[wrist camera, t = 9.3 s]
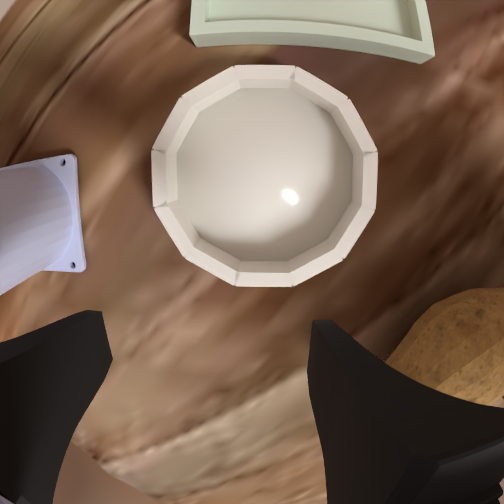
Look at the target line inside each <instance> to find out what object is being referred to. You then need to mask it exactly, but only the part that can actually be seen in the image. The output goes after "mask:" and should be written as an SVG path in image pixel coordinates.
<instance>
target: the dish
mask: <svg viewBox="0 0 504 504" xmlns="http://www.w3.org/2000/svg"><path fill="white" fill-rule="evenodd" d="M182 98H183V99H182ZM182 98H179V100H178V101H177V103H176V105H175V107H174V108H173V110H172V112H171V114H170V115H169V117H168V119H167V121H166V123H165V124H164V126H163V128H162V130H161V132H160V134H159V135H158V137H157V139H156V141H155V143H154V145H153V147H152V149H154V150H151V160H152V193H153V207H156V208H155V209H154V210H155V212H156V214H157V215H158V217H159V219H160V220H161V222H162V224H163V225H164V227H165V228H166V230H167V232H168V233H169V235H170V237H171V238H172V240H173V241H174V243H175V245H176V246H177V248H178V249H179V251H180V252H181V254H182V256H183V257H184V256H186V257H185V259H187V260H189V261H190V262H192V263H194V264H196V265H197V266H199V267H201V268H203V269H204V270H206V271H208V272H210V273H212V274H213V275H215V276H217V277H219V278H221V279H222V280H224V281H226V282H228V283H230V284H231V285H233V286H234V285H235V283H236V286H248V287H292V284H293V286H296V285H297V284H299V283H301V282H303V281H305V280H307V279H309V278H311V277H313V276H315V275H317V274H318V273H320V272H322V271H324V270H326V269H328V268H330V267H331V266H333V265H335V264H337V263H339V262H341V261H343V259H342V258H344V259H345V257H346V256H347V254H348V253H349V251H350V250H351V248H352V247H353V245H354V244H355V242H356V241H357V239H358V238H359V236H360V234H361V233H362V231H363V230H364V228H365V227H366V225H367V223H368V222H369V220H370V219H371V217H372V215H373V214H374V212H375V211H374V210H372V209H375V210H376V194H377V170H378V152H375V151H377V148H376V146H375V144H374V142H373V140H372V138H371V137H370V135H369V133H368V131H367V129H366V127H365V125H364V123H363V121H362V120H361V118H360V116H359V114H358V112H357V111H356V109H355V107H354V105H353V104H352V102H351V100H350V99H348V100H347V98H348V97H347V96H346V95H344V94H343V93H341V92H339V91H338V90H336V89H335V88H333V87H332V86H330V85H328V84H327V83H325V82H323V81H322V80H320V79H318V78H317V77H315V76H313V75H311V74H310V73H308V72H306V71H304V70H303V69H301V68H299V67H296V69H295V66H289V65H235V69H234V67H233V66H231V67H230V68H228V69H226V70H224V71H222V72H221V73H219V74H217V75H215V76H213V77H212V78H210V79H208V80H206V81H205V82H203V83H201V84H200V85H198V86H196V87H195V88H193V89H191V90H190V91H188V92H187V93H185V94H183V95H182Z"/></svg>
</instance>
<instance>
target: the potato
mask: <svg viewBox="0 0 504 504" xmlns="http://www.w3.org/2000/svg"><path fill="white" fill-rule="evenodd" d="M385 363H386V364H388V365H389V366H391V367H392V368H394V369H395V370H397V371H399V372H401V373H402V374H404V375H406V376H408V377H410V378H411V379H413V380H415V381H417V382H419V383H421V384H423V385H426V386H428V387H430V388H433V389H435V390H438V391H440V392H442V393H445V394H448V395H451V396H454V397H457V398H460V399H463V400H467V401H470V402H474V403H478V404H483V405H488V406H491V405H492V404H494V403H495V402H496V401H497V400H499V399H500V398H501V397H502V396H504V287H498V288H476V289H469V290H466V291H463V292H460V293H458V294H455V295H452V296H450V297H448V298H446V299H443V300H441V301H439V302H437V303H435V304H433V305H432V306H431V307H430V308H429V309H428V310H427V311H426V312H425V313H424V314H423V315H422V316H421V317H420V318H418V319H417V320H416V322H415V323H414V325H413V326H412V327H411V329H410V330H409V332H408V333H407V335H406V336H405V337H404V339H403V340H402V341H401V343H400V344H399V345H398V347H397V348H396V349H395V350H394V352H393V353H392V354H391V355H390V356H389V358H388V359H387V360H386V361H385Z"/></svg>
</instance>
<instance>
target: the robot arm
mask: <svg viewBox="0 0 504 504" xmlns="http://www.w3.org/2000/svg"><path fill="white" fill-rule="evenodd" d="M64 159H65V161H66V163H65V165H63V161H64ZM73 262H74V263H75V265H76V266H75V267H74V265H73ZM85 269H86V259H85V252H84V244H83V236H82V227H81V217H80V206H79V193H78V174H77V158H76V156H75V155H74V154H66V155H60V156H55V157H49V158H44V159H39V160H34V161H30V162H25V163H20V164H16V165H12V166H8V167H3V168H0V295H2V294H3V293H5V292H6V291H8V290H10V289H11V288H13V287H14V286H16V285H18V284H19V283H21V282H23V281H24V280H26V279H27V278H29V277H31V276H32V275H34V274H36V273H38V272H39V271H41V270H48V271H66V272H82V271H84V270H85ZM112 360H113V358H112V354H111V350H110V346H109V342H108V338H107V334H106V329H105V325H104V320H103V316H102V311H93V310H86V311H82V312H79V313H76V314H73V315H71V316H68V317H66V318H63V319H61V320H58V321H56V322H54V323H51V324H49V325H47V326H44V327H42V328H39V329H37V330H34V331H32V332H29V333H27V334H24V335H22V336H19V337H16V338H13V339H10V340H7V341H4V342H1V343H0V504H52V503H53V497H54V491H55V487H56V483H57V479H58V475H59V471H60V468H61V465H62V462H63V459H64V456H65V453H66V450H67V448H68V445H69V443H70V440H71V438H72V435H73V433H74V431H75V429H76V427H77V425H78V423H79V422H80V420H81V418H82V416H83V415H84V413H85V411H86V410H87V408H88V406H89V405H90V403H91V402H92V400H93V398H94V397H95V395H96V393H97V392H98V390H99V388H100V387H101V385H102V383H103V381H104V379H105V377H106V375H107V373H108V370H109V368H110V365H111V363H112ZM307 375H308V386H309V395H310V400H311V404H312V409H313V413H314V417H315V421H316V426H317V430H318V434H319V438H320V443H321V447H322V452H323V458H324V466H325V477H326V489H327V504H500V502H499V500H498V498H499V497H500V496H502V495H503V490H502V488H501V486H500V484H499V483H500V481H501V480H502V479H503V478H504V408H500V407H494V406H488V405H483V404H478V403H474V402H470V401H467V400H463V399H460V398H457V397H454V396H451V395H448V394H445V393H442V392H440V391H438V390H435V389H433V388H430V387H428V386H426V385H423V384H421V383H419V382H417V381H415V380H413V379H411V378H410V377H408V376H406V375H404V374H402V373H401V372H399V371H397V370H395V369H394V368H392V367H391V366H389V365H388V364H386V363H385V362H383V361H382V360H380V359H379V358H378V357H376V356H375V355H373V354H372V353H371V352H369V351H368V350H367V349H366V348H364V347H363V346H362V345H361V344H359V343H358V342H357V341H356V340H354V339H353V338H352V337H351V336H350V335H349V334H347V333H346V332H345V331H344V330H343V329H342V328H340V327H339V326H338V325H337V324H336V323H335V322H333V321H332V320H313V321H312V332H311V341H310V350H309V359H308V367H307Z"/></svg>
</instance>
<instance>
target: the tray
mask: <svg viewBox="0 0 504 504" xmlns="http://www.w3.org/2000/svg"><path fill="white" fill-rule="evenodd" d="M189 36H190V37H191V39H192V40H193V42H194V44H195V45H196V47H207V46H222V45H251V44H269V45H298V46H313V47H324V48H334V49H343V50H350V51H357V52H364V53H370V54H376V55H382V56H387V57H392V58H397V59H401V60H406V61H410V62H414V63H418V64H422V63H423V62H425V61H427V60H429V59H431V58H433V57H434V56H435V52H434V45H433V39H432V32H431V27H430V21H429V16H428V11H427V7H426V2H425V0H192V4H191V18H190V33H189Z"/></svg>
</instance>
